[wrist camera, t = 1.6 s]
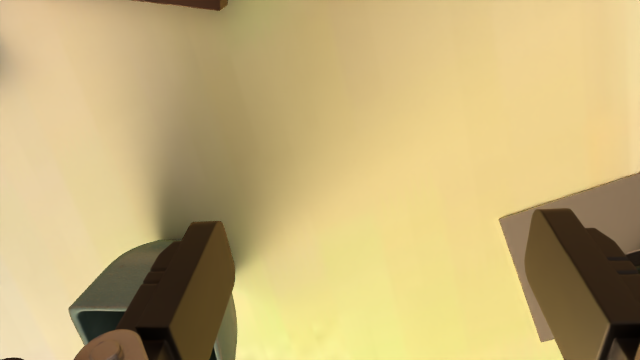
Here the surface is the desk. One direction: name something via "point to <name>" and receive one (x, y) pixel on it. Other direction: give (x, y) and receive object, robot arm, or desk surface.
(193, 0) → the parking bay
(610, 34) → the desk surface
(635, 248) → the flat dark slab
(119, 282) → the flower pot
